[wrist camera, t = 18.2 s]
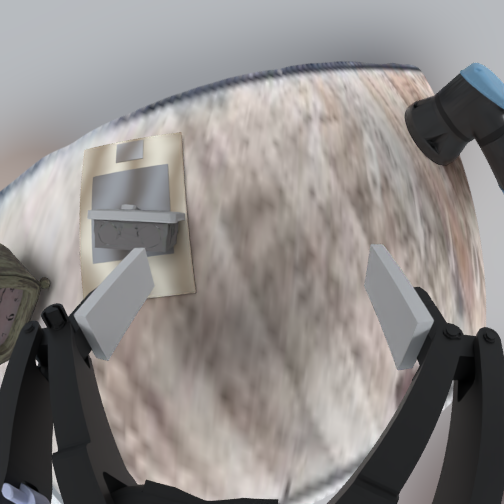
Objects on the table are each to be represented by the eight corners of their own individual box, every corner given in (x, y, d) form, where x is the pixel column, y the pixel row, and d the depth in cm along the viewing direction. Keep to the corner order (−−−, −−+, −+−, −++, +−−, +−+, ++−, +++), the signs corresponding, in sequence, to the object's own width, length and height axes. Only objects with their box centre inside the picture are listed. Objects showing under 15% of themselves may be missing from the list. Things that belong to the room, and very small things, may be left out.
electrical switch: (186, 213, 33) (177, 195, 24) (183, 255, 33) (172, 252, 23) (116, 210, 32) (87, 192, 22) (112, 250, 31) (81, 245, 22)
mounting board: (182, 137, 36) (181, 131, 34) (196, 292, 33) (195, 292, 32) (87, 154, 33) (84, 149, 32) (88, 303, 31) (83, 304, 29)
